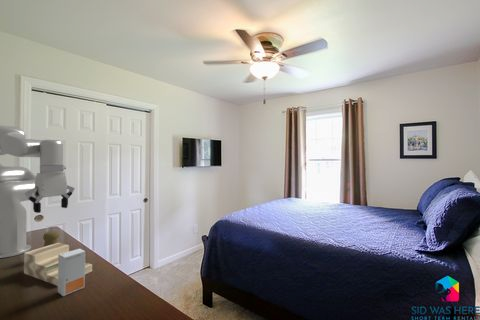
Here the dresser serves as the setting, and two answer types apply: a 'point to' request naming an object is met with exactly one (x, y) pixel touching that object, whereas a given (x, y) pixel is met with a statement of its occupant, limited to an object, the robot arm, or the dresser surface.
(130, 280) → the dresser surface
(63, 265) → the skincare box
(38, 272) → the step stand
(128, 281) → the dresser surface
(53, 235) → the cork
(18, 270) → the dresser surface
